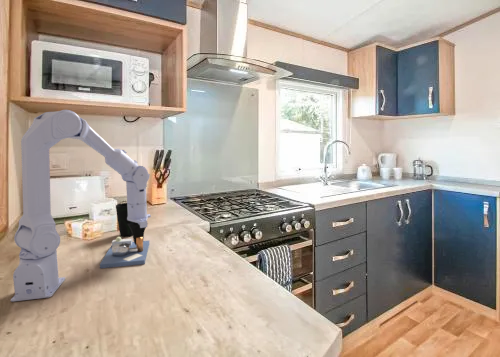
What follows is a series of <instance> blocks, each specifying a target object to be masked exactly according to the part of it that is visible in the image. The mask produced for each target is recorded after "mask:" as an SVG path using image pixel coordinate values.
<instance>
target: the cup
mask: <svg viewBox="0 0 500 357" xmlns="http://www.w3.org/2000/svg"><path fill="white" fill-rule="evenodd" d="M115 212H116V217H117V218H116V219H117V224H118V229H119V230H118V231H119V237H121V238H129V237H133V235H132V231H131V229H130V227H129V226H128V224H129V223H133V222H132V221H128V220H127V217H128V210H127V202H123V203H118V204H115Z"/></svg>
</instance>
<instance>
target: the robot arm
mask: <svg viewBox="0 0 500 357" xmlns="http://www.w3.org/2000/svg"><path fill="white" fill-rule="evenodd" d="M65 139H73V140H79V141H82V142H83V143H84V144H85V145H87V146H89V147H90V148H91V149H93V150H94V151H96V152H97V153H99V154H100V155H101V156H102V157H104V161H105V164H106V165H107V166H109V167H110V168H111V169H112V170H114V171H115V172H117V173H118V174H120V176H121V179H122V180H123V181H124V182H125V186H126V203H127V210H128V217H127V220H128V221H132V222H133V223H129V224H128V226H129V227H130V229H131V231H132V235H133V236H132V241H133V242H134V243H135V245H136V237H139V236H142V237H143V240H144V239H145V238H144V237H145V230H146V229H147V228H148V224H149V223H148V219H149V218H152V216H151V214H150V213H148V210H147V208H148V206H147V183H148V182H149V180H150V176H151V175H150V173H149V172H148V170H147V168H146V167H145V166H143V165H139V164H138V161H137V160H134V159H132V158H131V157H130V156H129V155H128V154H127V152H128V151H126V150H125V149H121V148H114V147H112V146H111V144H109V143H108V142H107V141H106V140H105V138H103V137H102V136H100V135H99V133H97V132H96V131H95V130H94V129H93V128H92V127H91V126H90V125H89V123H88V122H87V120H85V119H84V118H82V117H80V116H79V115H78V114H77V113H76V112H75V111H73V110H69V109H62V110H58V111H57V110H56V111H47V112H46V111H45V112H44V113H41V114H40V115H38V116H36V117H34V118H33V122H32V124H31V125H30V126H29V128H27V130H26V132H24V134H23V135H22V137H21V141H20V142H21V144H20V146H21V147H20V149H21V178H22V180H21V181H22V184H21V185H22V216H21V217H20V219H19V220H18V228H17V230H16V231H15V234H14V238H13V239H14V243H15V245H16V246H17V247H19V248H20V251H19V255H18V256H19V257H18V258H19V264H18V265H17V267H16V268H15V269H14V272H13V274H12V276H13V277H12V279H13V286H14V290H13V291H14V295H13V296H12V298H11V299H10V302H20V301H21V302H22V301H29V300H36V299H45V298H50V297H53V295H54V294H55V293H56V291H57V290H58V289H59V287H60V286H61V285H62V284H63V283H64V282H65V280H66V277H65V276H63V277H59V266H58V255H57V254H58V253H57V252H58V251H57V250H58V247H59V246H60V244H61V236H60V235H59V233H58V231H57V228H56V222H55V219H54V217H53V216H52V212H51V208H52V207H51V206H52V205H51V172H50V168H51V167H50V160H51V159H50V149H52V148H53V147H54V146H55V145H56V144H58V143H59V142H60V141H62V140H65Z"/></svg>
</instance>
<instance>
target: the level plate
mask: <svg viewBox="0 0 500 357" xmlns="http://www.w3.org/2000/svg"><path fill="white" fill-rule="evenodd" d="M119 243H128V244H129V243H130V244H131V245H130V248H135V247H136V245H135V243H134V241H133V238H123V239H122V237H121V236H117V237H116V238H115V239H113V240H112V241H111V245H110V247H109V249H108V250H107V252H106V254H105V255H104V257H103V258H102V260H101V261H100V264H99V269H107V268H118V267H129V266H139V265H145V264H146V259H147V257H148V251H149V248H150V240H143V251H141V252H137V251H135V252H130V253H129V254H127V255H124V256H113V255H112V246H113V245H115V244H119Z"/></svg>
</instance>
